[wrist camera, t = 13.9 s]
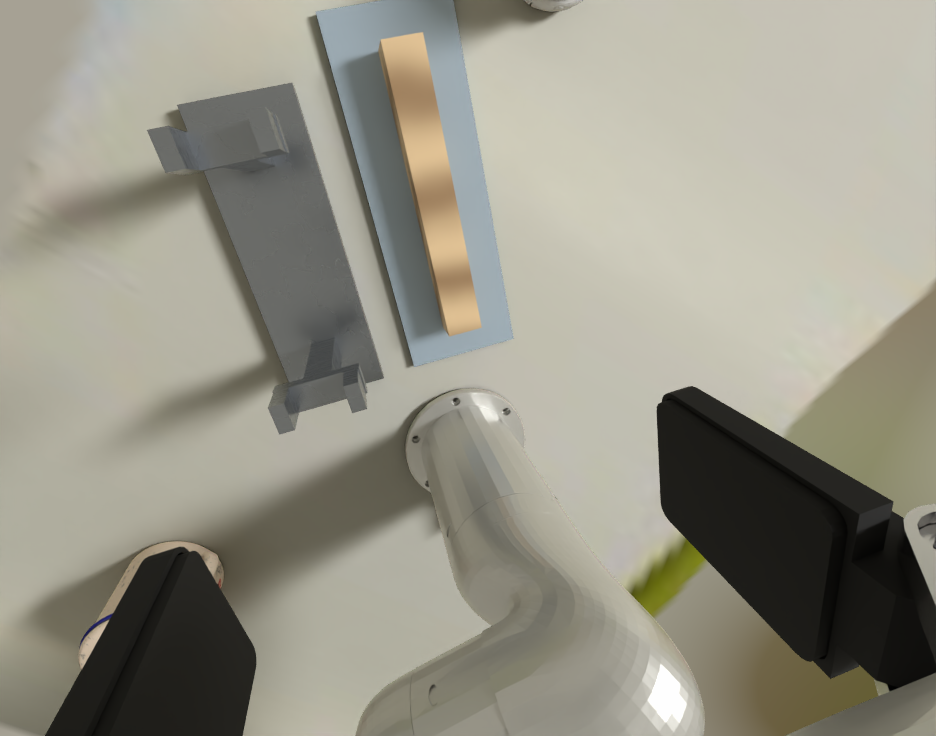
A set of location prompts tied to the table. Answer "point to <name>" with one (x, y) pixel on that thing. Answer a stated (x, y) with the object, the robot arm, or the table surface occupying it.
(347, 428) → the table surface
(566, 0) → the mug
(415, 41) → the oak rail
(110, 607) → the teacup with lid
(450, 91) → the slate mat
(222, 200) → the stand
